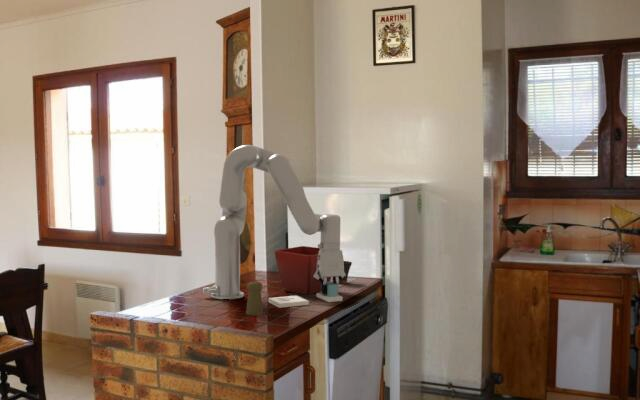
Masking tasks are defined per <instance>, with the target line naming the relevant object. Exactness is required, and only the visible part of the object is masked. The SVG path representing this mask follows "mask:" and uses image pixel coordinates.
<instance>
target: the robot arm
mask: <svg viewBox="0 0 640 400" xmlns="http://www.w3.org/2000/svg"><path fill="white" fill-rule="evenodd" d="M222 168H223V169H222V170H223V171H222V175H221V176H222V177H221V184H220V191H219V192H220V193H219V200H218V201H219V202H218V203H219V206H220V208H221V209H222V214H221V215H222V216H221V217H220V218H218V220H217V221H216V223H215V225H214V229H213V233H214V244H215V245H214V246H215V247H214V249H215V251H214V252H215V253H214V255H215V258H214V260H215V265H214V267H215V268H214V270H215V271H214V274H215V276H214V277H215V279H214V280H215V281H214V282H215V283H214V284H212V286H210V287H203V288H202V293H203V294H210V297H211V298H213V299H216V300H223V299H229V300H237V299H242V298H243V297H244V296H245V293H244V292H243V291H241V290H240V289H241V243H240V242H241V240H240V236H241V234H242V233H243V232H244V229H245V225H246V216H247V206H248V198H247V197H248V196H247V194H246V192H245V191H244V183H245V173H246V170H247V168H252V169H256V170H260V171H262V172H265V173H269V175H270V177H271V178H272V180H273V181H274V183H275V185H276V187H277V188H278V191H279V192H280V194H281V197H282V198H283V201H284V202H285V203H286V205H287V208H288V209H289V211H290V213H291V215H292V216H293V217H292V218H294V220H295V222H296V223H297V226H298V227H299V229H300V230H301V232H303V233H304V235H309V236H310V235H315V234H316V233H318V232H319V233H320V242H319V243H318V244H317V248H320V250H319V253H318V258H317V269H316V272H315V274H314V276H313V277H314V278H315V279H317V280H318V281H319V282H320V283H321V292H322V294H324V295H327V285H326V281H327V277H331V278H332V283H335V284H338V283H339V281H340V280H341V279H342V278H343V277H344V276H345V275H346V274H345V272H344V261H345V260H344V255H343V250H342V249H341V216H339V215H338V214H318V213H315V212H314V210H313V209H312V207H311V205H310V203H309V201H308V199H307V197H306V193H305V189H304V187H303V185H302V183H301V182H300V179H299V178H298V176H297V174H296V173H295V171H294V169H293V167H292V166H291V162H290V159H289V158H288V157H287V156H286V155H285V154H281V153H277V152H274V151H272V150H268V149H265V148H262V147H259V146H255V145H252V144H244V145H240V146H238V147H236V148H234V149H233V150H231V151H230V152H229V153H228V155H227V156H226V158H225V161H224V162H223V167H222ZM319 275H320V276H321V278H320V277H319ZM338 285H339V284H338ZM321 292H320V293H321Z"/></svg>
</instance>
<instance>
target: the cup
mask: <svg viewBox="0 0 640 400" xmlns="http://www.w3.org/2000/svg"><path fill="white" fill-rule="evenodd" d="M352 264H353V262H352V261H349V260H347V261H346V260H344V272H345V274H346V275H345V276H344V277H343V278H342V279H341V280H340V281H339V283H338V285H339V284H340V285H346V284H348V278H349V272H350V269H351V266H352ZM345 283H346V284H345Z"/></svg>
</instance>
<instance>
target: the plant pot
mask: <svg viewBox="0 0 640 400" xmlns="http://www.w3.org/2000/svg"><path fill="white" fill-rule="evenodd" d="M319 250H320V248H318V247H313V246H303V245H301V246H296V247H288V248H282V249H276V250H274V255H275V261H276V266H277V270H278V273H279V276H280V280H281V284H282V286H283V288H284V290H285V291H286V292H290V293H291V292H292V293H294V294H295V293H296V294H301V295H302V294H303V295H313V294H317V293H321V283H320V282H319V281H318V280H317V279H315V278H314V277H313V276H314V274H315V272H316V269H317V258H318V253H319ZM319 277H320V278H321V276H320V275H319ZM331 279H332V277H327V281H326V282H329V281H330V282H331Z"/></svg>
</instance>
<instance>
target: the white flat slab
mask: <svg viewBox="0 0 640 400" xmlns="http://www.w3.org/2000/svg"><path fill="white" fill-rule="evenodd" d="M268 303H269V304H271V305H274V306H276V307H277V308H279V309H280V308H289V307H291V308H292V307H298V306H299V307H300V306H301V307H302V306H309V305H310V301H309V300H308V299H306V298H304V297H302V296H300V295H298V294H296V295H287V296H277V297H268Z"/></svg>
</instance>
